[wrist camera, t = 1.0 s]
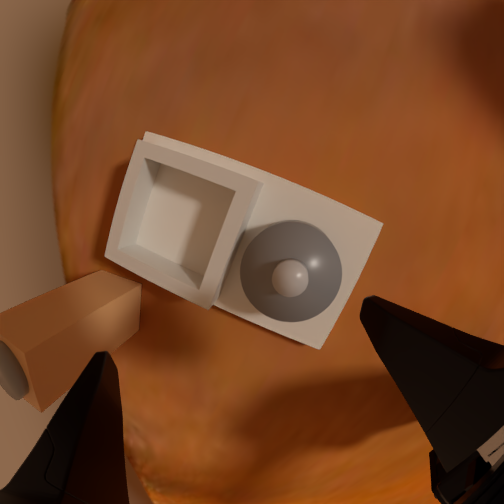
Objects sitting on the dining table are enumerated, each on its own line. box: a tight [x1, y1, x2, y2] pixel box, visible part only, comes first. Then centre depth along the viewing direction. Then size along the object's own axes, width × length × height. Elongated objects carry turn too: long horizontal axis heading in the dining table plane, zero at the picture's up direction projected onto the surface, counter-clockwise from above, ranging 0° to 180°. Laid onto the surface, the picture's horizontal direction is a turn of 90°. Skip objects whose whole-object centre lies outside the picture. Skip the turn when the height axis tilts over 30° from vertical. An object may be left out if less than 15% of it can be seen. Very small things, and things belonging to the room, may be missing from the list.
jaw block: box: [0, 270, 142, 412], centre depth 17 cm, size 4×4×14 cm
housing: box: [104, 131, 383, 350], centre depth 18 cm, size 18×10×5 cm, turn 68°
